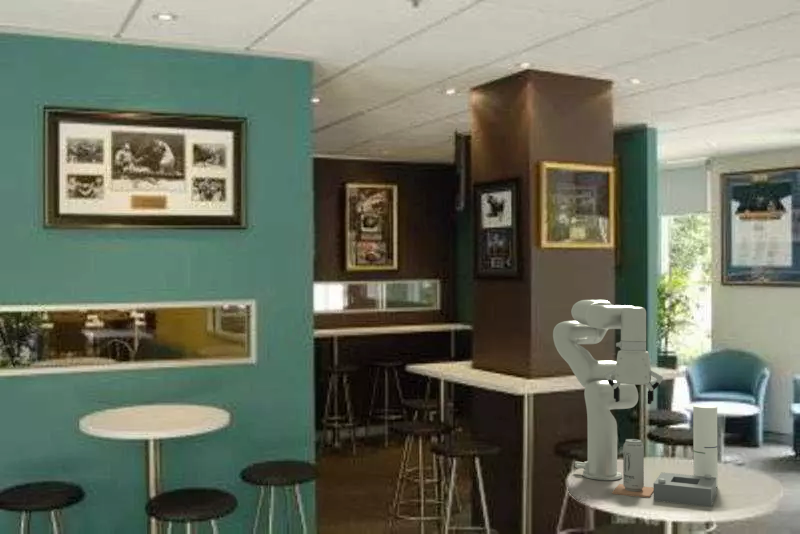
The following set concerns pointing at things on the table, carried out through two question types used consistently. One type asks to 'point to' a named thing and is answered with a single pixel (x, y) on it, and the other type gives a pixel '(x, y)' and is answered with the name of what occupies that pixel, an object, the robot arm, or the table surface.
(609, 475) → the robot arm
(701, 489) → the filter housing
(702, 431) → the cylindrical container
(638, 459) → the energy drink can
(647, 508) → the table surface
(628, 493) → the coaster
